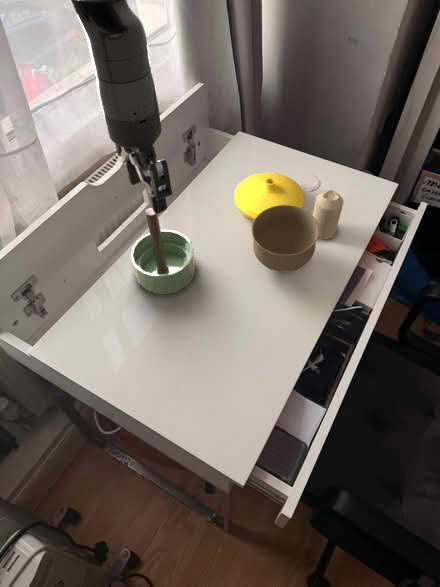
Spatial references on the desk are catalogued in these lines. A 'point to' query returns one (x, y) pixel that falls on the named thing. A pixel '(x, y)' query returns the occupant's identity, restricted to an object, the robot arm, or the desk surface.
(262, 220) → the bowl
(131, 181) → the robot arm
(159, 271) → the stirring stick
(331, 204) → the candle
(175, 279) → the mixing bowl
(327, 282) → the desk surface
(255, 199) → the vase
